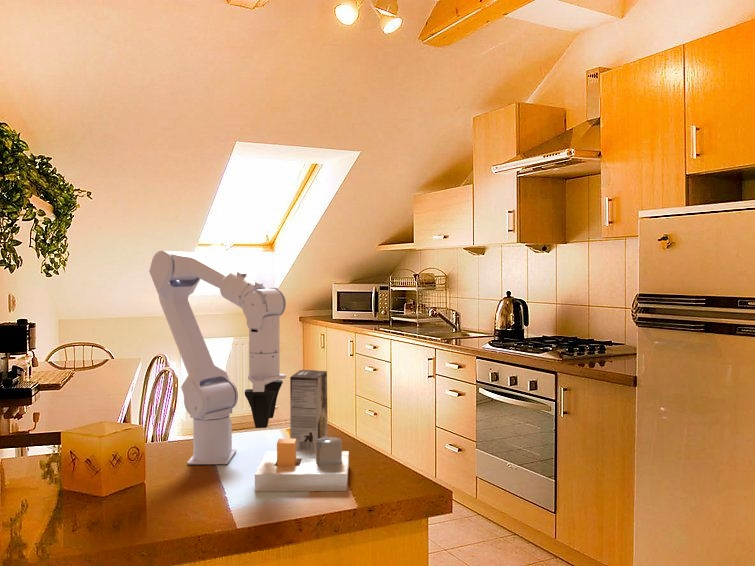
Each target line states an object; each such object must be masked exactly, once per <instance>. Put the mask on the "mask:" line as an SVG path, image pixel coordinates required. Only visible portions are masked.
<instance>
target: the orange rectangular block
mask: <svg viewBox="0 0 755 566" xmlns="http://www.w3.org/2000/svg"><path fill="white" fill-rule="evenodd" d="M276 451H277V466H296V439H290V438H278V440H277V442H276Z"/></svg>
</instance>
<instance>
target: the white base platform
mask: <svg viewBox="0 0 755 566" xmlns="http://www.w3.org/2000/svg"><path fill="white" fill-rule="evenodd" d="M342 443H343V440H342V438H339V437H335V436H334V437H332V436H327V437H324V438H319V439H317V440H316V451H296V466H277V450H276V451H273V450H271V451H270V450H268V451H266V453H265V454H264V456H263V459H262V460H261V462H260V464H259V466H258V467H257V470H256V472H255V474H254V492H348V491H347V490H348V482H349V481H348V479H349V467H350V462H349V461H350V459H349V458H350V457H349V456H350V453H349V452H350V451H348V450H343V444H342Z"/></svg>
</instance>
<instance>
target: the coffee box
mask: <svg viewBox="0 0 755 566" xmlns="http://www.w3.org/2000/svg"><path fill="white" fill-rule="evenodd" d="M327 372H328V371H327V370H313V369H300V370H298V371H297V372H296V373H294V374H292V375H291V376H290V377H289V381H290V382H289V383H290V384H289V385H290V386H289V387H290V389H289V390H290V391H289V394H290V399H289V400H290V401H289V404H290V409H289V411H290V414H289V415H290V418H289V419H290V423H289V425H290V426H289V427H290V428H289V430H290V432H289V433H290V435H289V436H290V438H289V439H296V451H316V440H317V439H319V438H324V437H328V379H327V378H328V377H327V376H328V373H327Z"/></svg>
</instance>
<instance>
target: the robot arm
mask: <svg viewBox="0 0 755 566" xmlns="http://www.w3.org/2000/svg"><path fill="white" fill-rule="evenodd" d="M148 272H149V274H150V277H151V279H152V282H153V285H154V288H155V290H156V293H157V294H158V299H159V304H160V307H161V308H162V311H163V314H164V316H165V319H166V322H167V323H168V327H169V329H170V331H171V334H172V337H173V339H174V341H175V344H176V347H177V349H178V352H179V355H180V357H181V361H182V362H183V364H184V367H185V369H186V372H187V377H186V379H185V380H184V381H183V383H182V385H181V387H180V388H181V391H182V394H183V405H184V408H185V410H186V412H187V413H188V414H189V418H191V419H192V441H193V444H192V445H193V447H192V448H193V449H192V450H193V454H192V455H191V457H190V459H188V460H187V462H186V464H187V465H227V464H228V463H230V461H231V460H232V458H233V457H234V455H235V454H236V452H237V449H236V448H233V440H232V438H233V435H232V432H233V431H232V430H233V427H232V425H233V424H232V420H231V416H230V415H231V414H233V409H234V408H235V407H236V406H237V403H238V400H239V392H238V389H237V386H236V385H235V384H234V382H233V381H232V380H231V379H230V378H229V376H228V373H227V371H225V370H223V369H222V368H220V367H218V366H216V365H215V364H214V361H213V358H212V356H211V354H210V351H209V348H208V346H207V343H206V342H205V339H204V336H203V334H202V331H201V329H200V327H199V324H198V321H197V320H196V317H195V315H194V314H195V313H194V312H193V309H192V307H191V304H190V301H189V297H190V295H191V294H193V293H194V291H196V290H195V289H196V288H197V286H198V284H199V283H200V281H201V280H202V281H204V282H206V283H207V284H209V285H211V286H214V287H216V288H218V289H219V292H220V295H221V297H222V298H224V299H226V301H229V302H230V303H232V304H233V305H235V306H236V307H239V308H241V309H242V312H243V314H244V317H245V319H246V326H247V328H248V349H249V351H248V364H249V365H248V370H249V371H248V372H249V373H248V374H247V379H248V381H249V382H250V383H252V389H251V388H250V389H248V388H247V389H245V390H244V397H245V398H246V400H247V402H248V404H249V407H250V409H251V410H250V411H251V414H252V419H253V424H254V427H255V429H267V428H268V425H269V421H270V420H269V419H273V418H274V416H275V413H276V412H275V411H276V406H277V405H276V404H277V400H278V395H279V392H280V389H281V388H282V386H283V383H284V381H283V380H285V379H286V378H287V377H286V376H287V374H286V373H280V371H281V370H280V362H281V361H280V359H281V358H280V317H281V316H282V315H283V314H284V313H285V310H286V306H287V301H286V297H285V295H284V294H283V293H284V292H282V291H281V290H280V289H278V287H269V288H266V287H265V286H264V283H262V282H260V281H254V280H253V279H251V278H249V277H247V275H248V274H247V273H246V272H244V271H233V272H230V273H229V272H227V271H226V270H224V269H222V268H221V267H219V266H218V265H216V264H215V263H213V262H212V261H210V260H209V259H207V256H206V255H204V254H201V253H199V252H198V251H190V252H189V251H166V250H158V251H157V252H156V253H155V254H154V255H153V256H152V260H151V262H150V268H149V271H148Z"/></svg>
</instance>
